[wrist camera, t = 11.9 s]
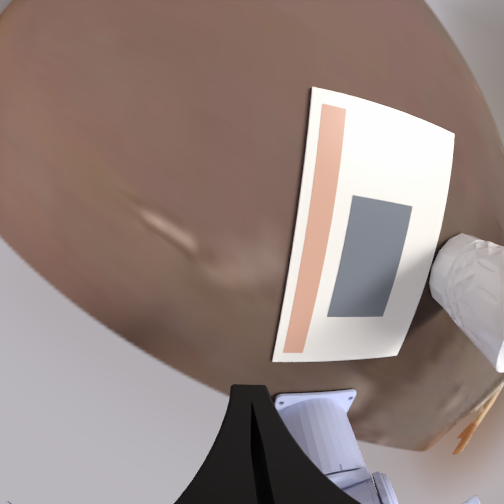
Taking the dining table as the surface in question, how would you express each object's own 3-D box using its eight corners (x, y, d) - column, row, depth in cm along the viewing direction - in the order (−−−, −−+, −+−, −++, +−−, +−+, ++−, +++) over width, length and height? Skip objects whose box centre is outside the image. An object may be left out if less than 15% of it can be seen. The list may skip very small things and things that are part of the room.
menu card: (395, 354, 22) (396, 355, 22) (272, 360, 21) (272, 362, 21) (452, 133, 16) (454, 134, 15) (311, 87, 15) (312, 86, 14)
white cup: (411, 308, 21) (478, 382, 11) (438, 219, 18) (533, 266, 9) (464, 307, 21) (524, 362, 12) (488, 233, 19) (564, 273, 9)
